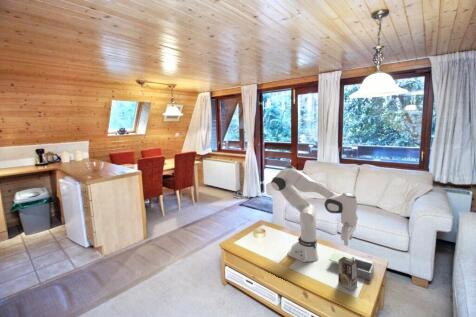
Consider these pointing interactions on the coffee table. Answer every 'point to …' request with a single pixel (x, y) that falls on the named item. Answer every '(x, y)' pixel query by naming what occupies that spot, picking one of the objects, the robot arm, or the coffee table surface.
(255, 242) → the coffee table surface
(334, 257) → the lid
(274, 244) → the coffee table surface
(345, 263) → the coffee box
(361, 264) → the bin
